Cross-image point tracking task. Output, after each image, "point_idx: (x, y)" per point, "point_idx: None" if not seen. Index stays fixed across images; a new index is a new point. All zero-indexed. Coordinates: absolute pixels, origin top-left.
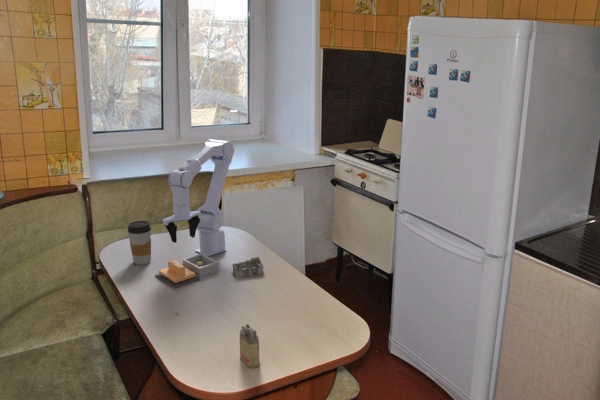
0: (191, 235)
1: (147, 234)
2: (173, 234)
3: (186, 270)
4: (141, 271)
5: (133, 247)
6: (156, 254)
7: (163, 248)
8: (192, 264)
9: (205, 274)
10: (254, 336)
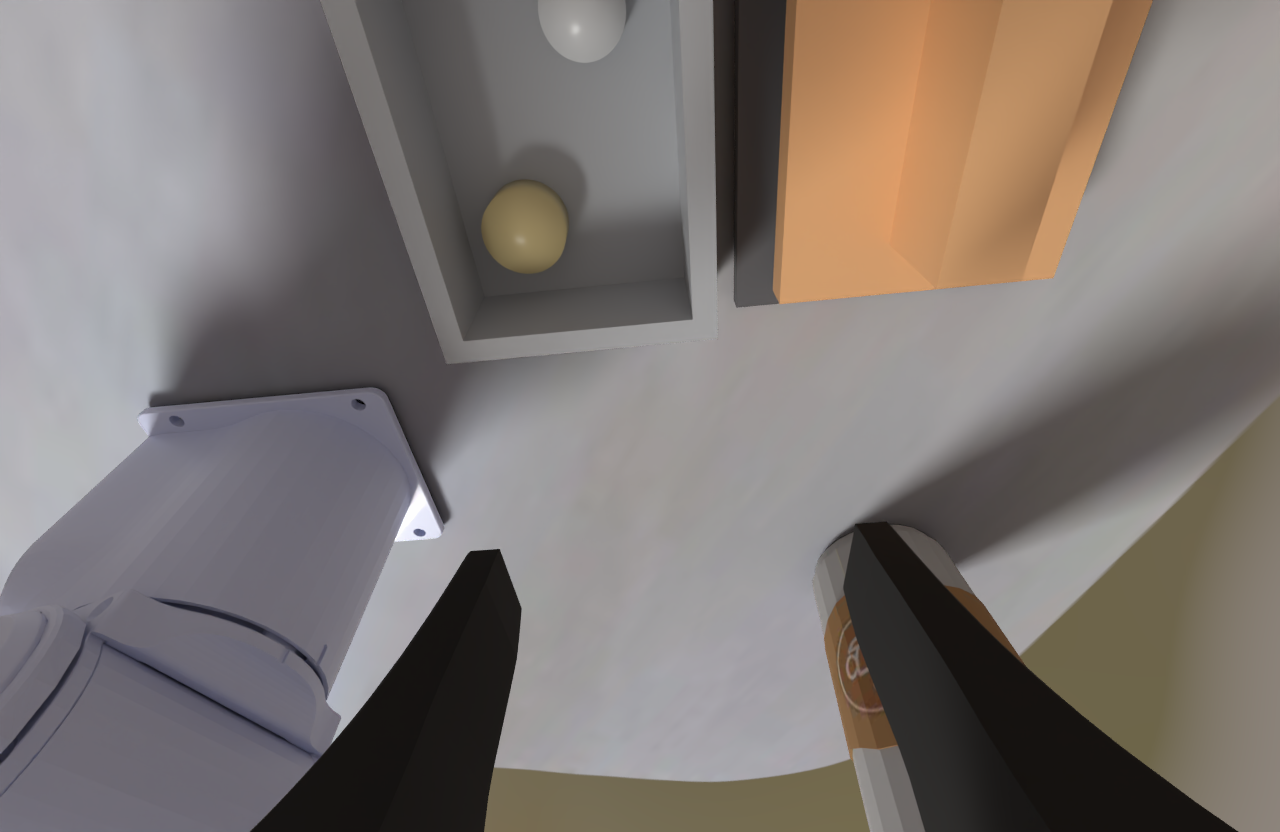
0: (507, 605)
1: None
2: (1039, 679)
3: (838, 24)
4: (1009, 437)
5: None
6: (723, 607)
7: (634, 651)
8: (707, 88)
9: None
10: None
